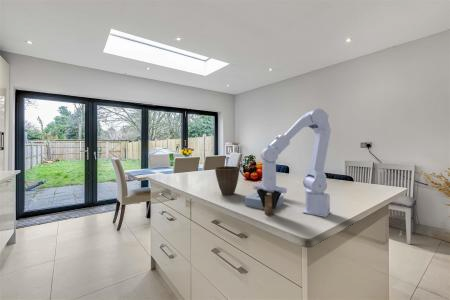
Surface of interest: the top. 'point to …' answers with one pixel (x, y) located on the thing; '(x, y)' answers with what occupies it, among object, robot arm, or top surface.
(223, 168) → the plant pot
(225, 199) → the top surface
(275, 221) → the top surface
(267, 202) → the peg
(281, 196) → the socket
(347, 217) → the top surface
